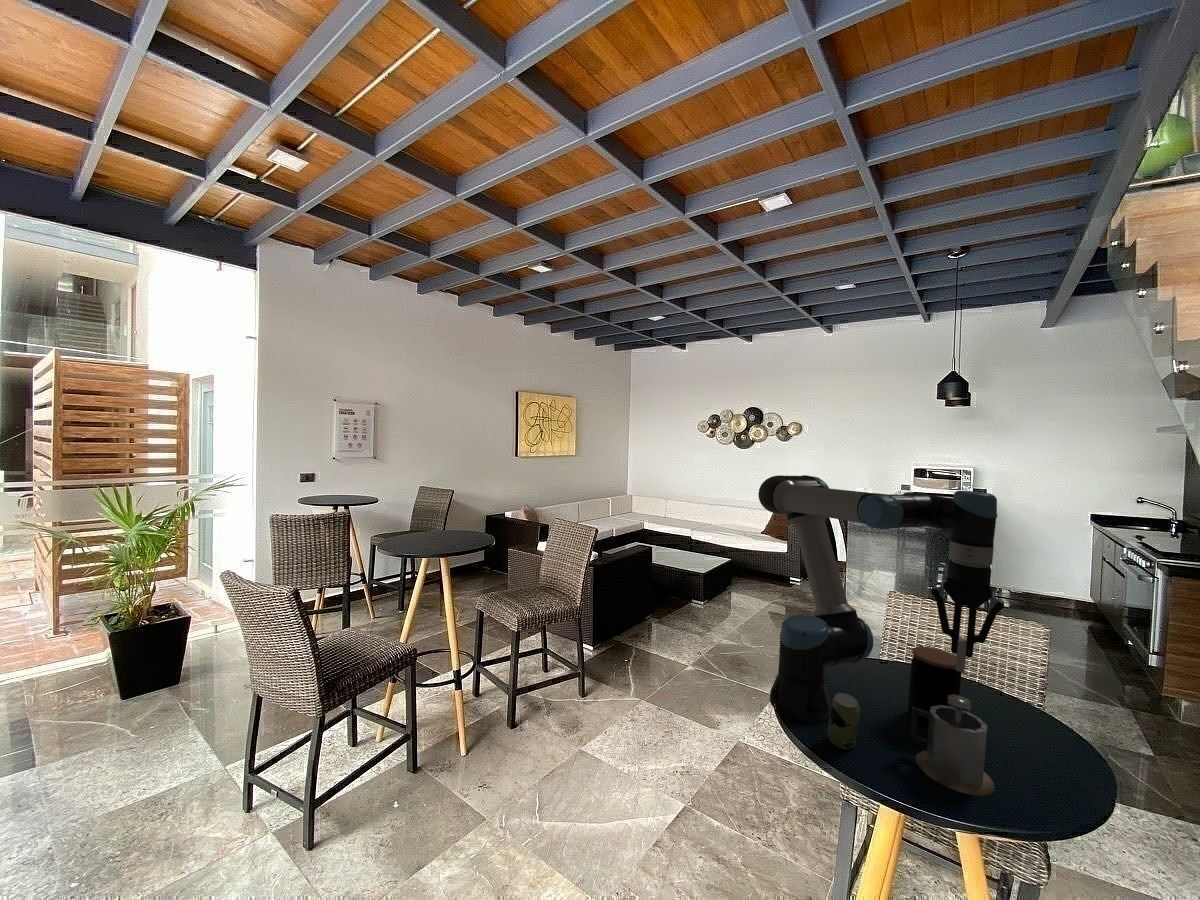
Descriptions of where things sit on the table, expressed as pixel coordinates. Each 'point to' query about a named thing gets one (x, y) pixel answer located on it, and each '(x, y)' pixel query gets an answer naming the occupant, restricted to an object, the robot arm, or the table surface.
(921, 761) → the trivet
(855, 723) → the beverage can
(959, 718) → the plunger
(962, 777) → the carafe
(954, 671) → the coffee jar
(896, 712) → the table surface
